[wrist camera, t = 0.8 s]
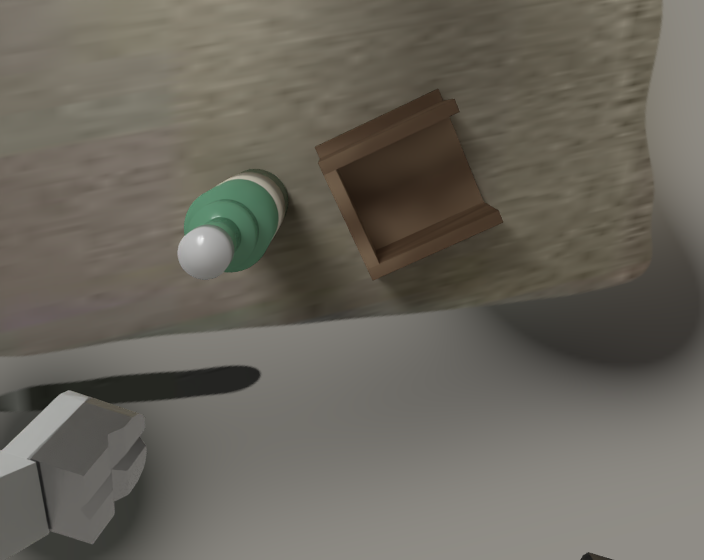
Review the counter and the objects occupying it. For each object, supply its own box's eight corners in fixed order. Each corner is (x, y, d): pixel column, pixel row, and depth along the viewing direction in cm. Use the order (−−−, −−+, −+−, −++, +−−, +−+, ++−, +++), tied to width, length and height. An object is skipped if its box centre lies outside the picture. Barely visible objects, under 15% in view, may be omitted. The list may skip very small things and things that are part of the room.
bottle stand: (315, 146, 50) (312, 150, 45) (436, 89, 49) (449, 85, 44) (373, 272, 53) (377, 291, 47) (489, 221, 52) (507, 233, 46)
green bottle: (212, 185, 51) (130, 229, 31) (270, 157, 50) (225, 184, 30) (242, 242, 52) (182, 321, 32) (299, 216, 52) (274, 279, 32)
